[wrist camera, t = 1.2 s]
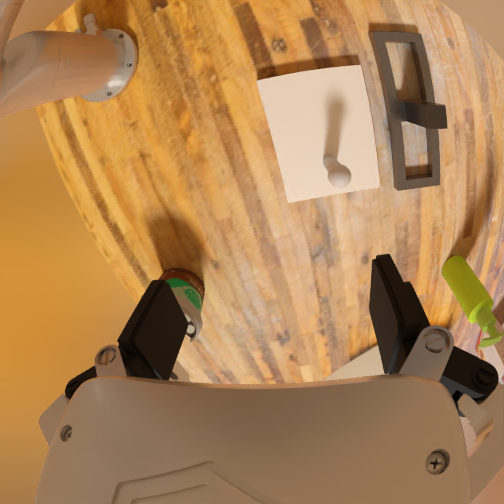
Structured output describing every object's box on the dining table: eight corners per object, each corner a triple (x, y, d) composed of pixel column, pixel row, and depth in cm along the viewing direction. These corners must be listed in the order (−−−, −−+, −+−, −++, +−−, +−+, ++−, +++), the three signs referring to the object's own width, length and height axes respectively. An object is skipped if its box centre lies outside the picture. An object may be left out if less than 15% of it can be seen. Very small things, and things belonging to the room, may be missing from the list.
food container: (224, 292, 52) (214, 332, 43) (204, 305, 54) (192, 344, 46) (175, 251, 47) (155, 287, 39) (157, 268, 50) (137, 304, 42)
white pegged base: (257, 81, 31) (250, 77, 23) (357, 65, 28) (381, 59, 20) (287, 199, 40) (290, 229, 32) (376, 183, 37) (399, 210, 29)
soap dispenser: (441, 257, 43) (488, 334, 26) (466, 253, 42) (515, 324, 25) (435, 280, 46) (474, 357, 29) (459, 276, 45) (500, 347, 28)
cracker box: (488, 341, 57) (509, 391, 40) (474, 348, 59) (494, 400, 42) (497, 314, 51) (525, 370, 33) (482, 323, 53) (509, 381, 35)
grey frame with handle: (368, 33, 24) (389, 21, 18) (416, 35, 23) (444, 28, 16) (394, 187, 37) (415, 209, 30) (435, 181, 35) (460, 202, 29)
